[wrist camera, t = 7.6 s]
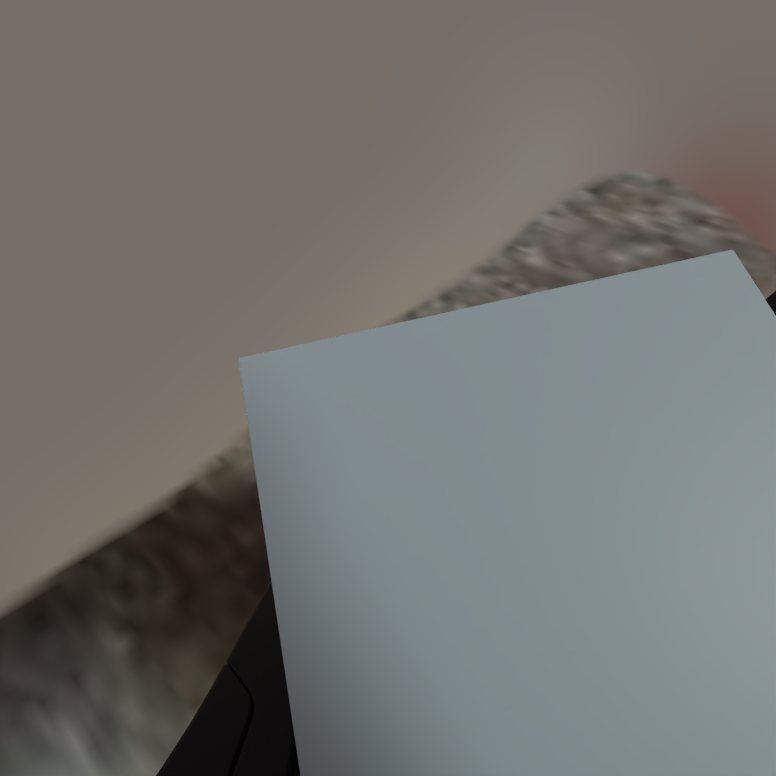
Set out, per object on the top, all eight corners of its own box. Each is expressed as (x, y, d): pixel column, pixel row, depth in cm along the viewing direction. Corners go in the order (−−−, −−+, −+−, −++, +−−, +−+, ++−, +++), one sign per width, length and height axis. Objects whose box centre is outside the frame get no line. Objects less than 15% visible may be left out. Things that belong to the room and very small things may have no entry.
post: (511, 618, 15) (1145, 887, 2) (380, 657, 14) (365, 1219, 2) (469, 485, 16) (732, 249, 4) (349, 517, 16) (237, 357, 4)
